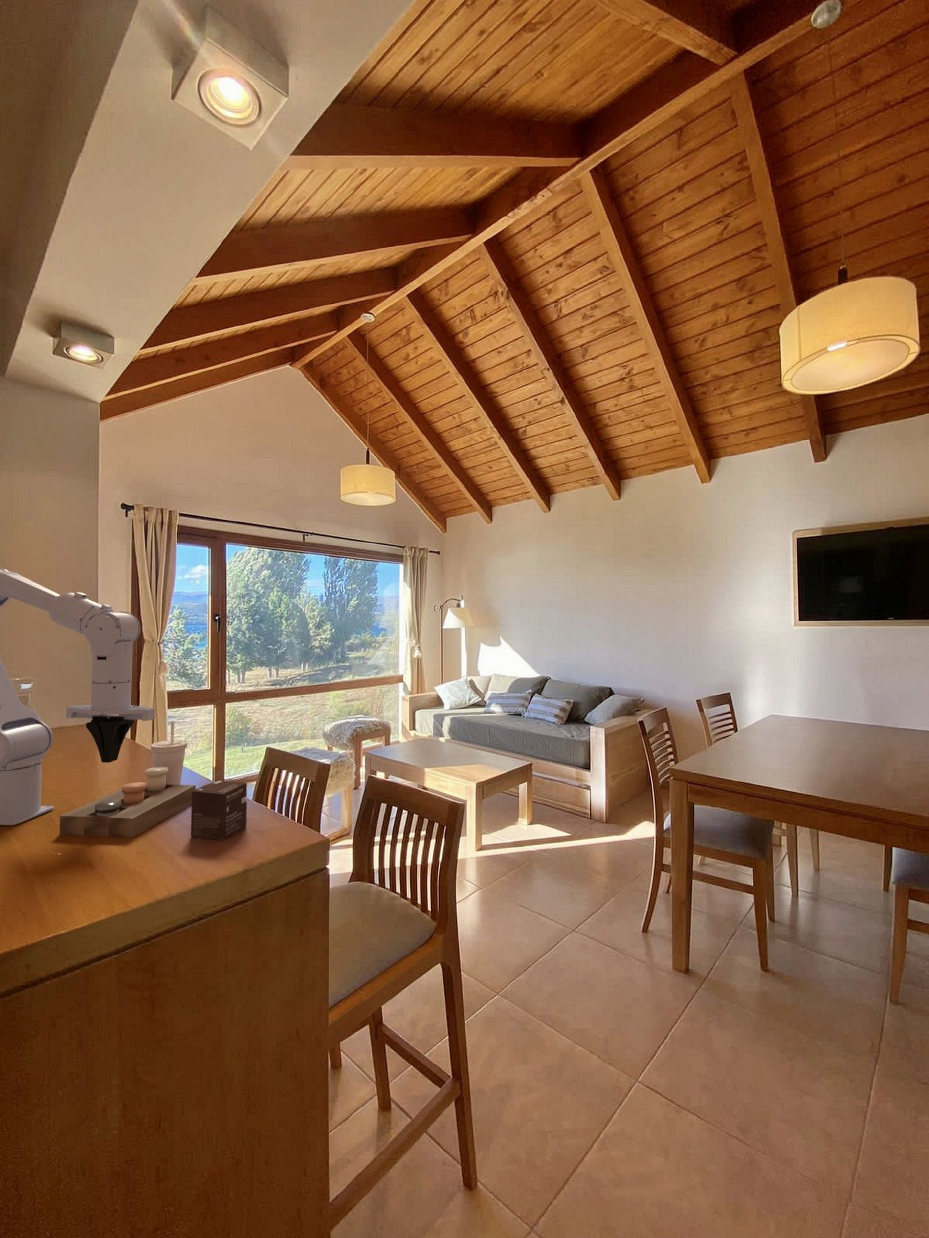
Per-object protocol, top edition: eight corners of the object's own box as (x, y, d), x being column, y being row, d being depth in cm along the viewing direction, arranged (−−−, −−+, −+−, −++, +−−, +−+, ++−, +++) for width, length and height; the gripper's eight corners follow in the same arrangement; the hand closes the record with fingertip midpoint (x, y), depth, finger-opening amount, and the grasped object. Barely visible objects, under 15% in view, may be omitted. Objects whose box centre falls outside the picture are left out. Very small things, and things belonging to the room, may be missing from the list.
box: (223, 841, 80) (224, 793, 80) (189, 837, 82) (190, 790, 82) (247, 826, 86) (248, 782, 86) (215, 823, 87) (216, 779, 88)
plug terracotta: (116, 811, 88) (116, 788, 88) (131, 804, 92) (131, 781, 92) (136, 812, 88) (137, 788, 88) (150, 805, 92) (151, 782, 92)
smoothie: (193, 791, 104) (194, 720, 104) (160, 799, 99) (161, 725, 99) (175, 785, 107) (177, 717, 108) (142, 793, 102) (144, 722, 102)
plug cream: (140, 793, 94) (140, 771, 94) (153, 787, 98) (153, 766, 98) (159, 794, 94) (159, 772, 94) (171, 788, 98) (172, 766, 98)
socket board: (59, 834, 82) (60, 815, 82) (134, 799, 99) (134, 783, 99) (132, 837, 81) (133, 818, 81) (195, 801, 98) (195, 785, 98)
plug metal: (88, 832, 82) (89, 806, 82) (105, 823, 86) (106, 799, 86) (110, 833, 82) (110, 807, 82) (126, 824, 86) (126, 800, 86)
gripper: (51, 683, 86) (49, 765, 85) (136, 685, 85) (134, 768, 85) (85, 678, 93) (82, 755, 93) (163, 681, 92) (161, 758, 92)
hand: (109, 761), depth 89 cm, fingers closed
